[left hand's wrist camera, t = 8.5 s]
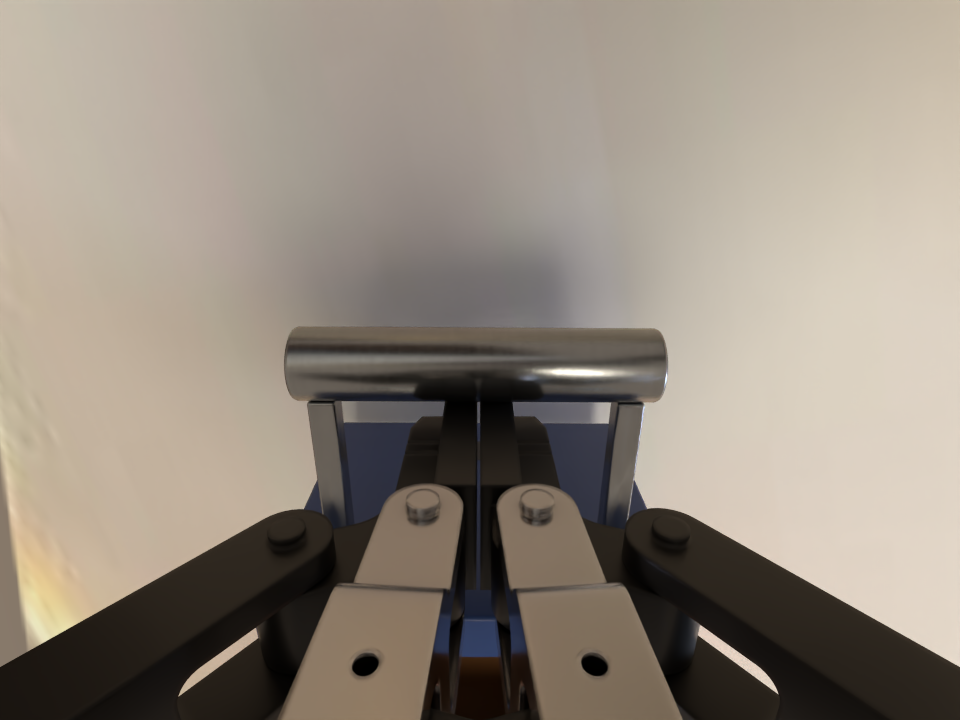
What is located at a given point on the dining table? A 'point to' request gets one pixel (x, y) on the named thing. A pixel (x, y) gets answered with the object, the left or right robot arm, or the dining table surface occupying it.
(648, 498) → the dining table surface
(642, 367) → the drawer
